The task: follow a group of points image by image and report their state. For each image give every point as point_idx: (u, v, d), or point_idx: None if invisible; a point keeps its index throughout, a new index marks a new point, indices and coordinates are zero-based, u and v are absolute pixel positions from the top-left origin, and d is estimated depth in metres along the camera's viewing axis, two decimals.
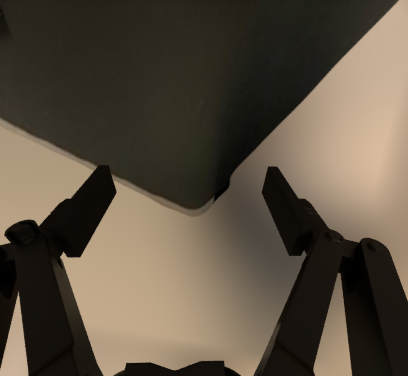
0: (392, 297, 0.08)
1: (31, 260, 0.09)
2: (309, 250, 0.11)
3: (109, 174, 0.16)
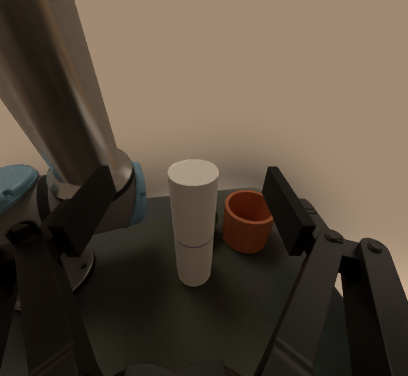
0: (392, 297, 0.08)
1: (31, 260, 0.09)
2: (309, 250, 0.11)
3: (109, 174, 0.16)
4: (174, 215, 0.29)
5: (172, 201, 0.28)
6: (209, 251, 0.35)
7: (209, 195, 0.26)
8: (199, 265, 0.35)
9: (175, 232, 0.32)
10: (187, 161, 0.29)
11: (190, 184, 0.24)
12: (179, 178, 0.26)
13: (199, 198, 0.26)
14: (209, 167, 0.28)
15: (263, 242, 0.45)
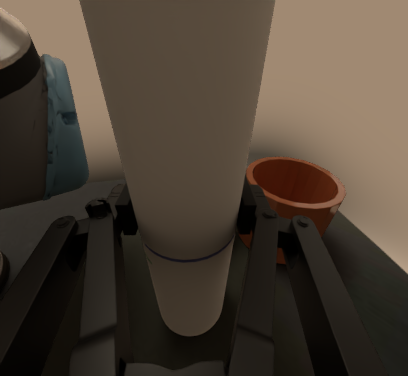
0: (323, 264, 0.09)
1: (99, 234, 0.10)
2: (253, 230, 0.12)
3: None
4: (124, 164, 0.09)
5: (108, 106, 0.08)
6: (225, 267, 0.15)
7: (245, 56, 0.06)
8: (202, 299, 0.15)
9: (137, 221, 0.12)
10: None
11: None
12: None
13: (205, 56, 0.06)
14: None
15: None
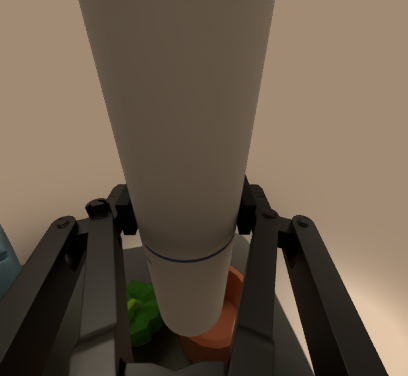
0: (323, 264, 0.09)
1: (99, 234, 0.10)
2: (253, 230, 0.12)
3: None
4: (123, 164, 0.09)
5: (108, 106, 0.08)
6: (225, 268, 0.15)
7: (245, 56, 0.06)
8: (202, 299, 0.15)
9: (137, 221, 0.12)
10: None
11: None
12: None
13: (205, 56, 0.06)
14: None
15: None
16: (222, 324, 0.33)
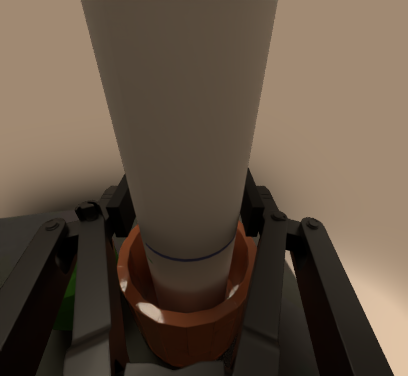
0: (332, 267, 0.09)
1: (90, 237, 0.10)
2: (261, 232, 0.12)
3: None
4: (124, 161, 0.09)
5: (108, 102, 0.08)
6: (226, 267, 0.15)
7: (248, 50, 0.06)
8: (204, 299, 0.15)
9: (138, 219, 0.12)
10: None
11: None
12: None
13: (208, 49, 0.06)
14: None
15: (224, 345, 0.17)
16: None
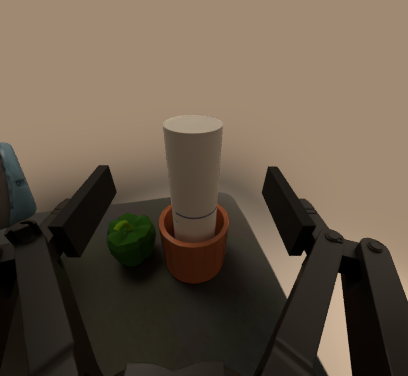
0: (392, 297, 0.08)
1: (31, 260, 0.09)
2: (309, 250, 0.11)
3: (109, 174, 0.16)
4: (171, 178, 0.25)
5: (169, 159, 0.24)
6: (212, 225, 0.30)
7: (212, 148, 0.22)
8: (201, 241, 0.31)
9: (173, 201, 0.28)
10: (186, 116, 0.25)
11: (190, 132, 0.21)
12: (176, 127, 0.22)
13: (200, 151, 0.22)
14: (211, 120, 0.24)
15: (212, 269, 0.33)
16: None
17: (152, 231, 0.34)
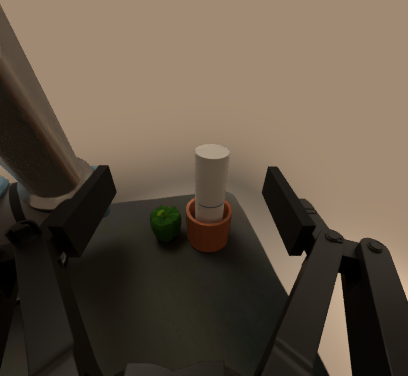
0: (392, 297, 0.08)
1: (31, 260, 0.09)
2: (309, 250, 0.11)
3: (109, 174, 0.16)
4: (198, 182, 0.42)
5: (197, 172, 0.40)
6: (221, 213, 0.47)
7: (223, 166, 0.39)
8: None
9: (197, 197, 0.44)
10: (207, 145, 0.42)
11: (212, 158, 0.37)
12: (203, 154, 0.38)
13: (217, 168, 0.38)
14: (222, 148, 0.41)
15: (221, 242, 0.49)
16: None
17: (180, 217, 0.51)
